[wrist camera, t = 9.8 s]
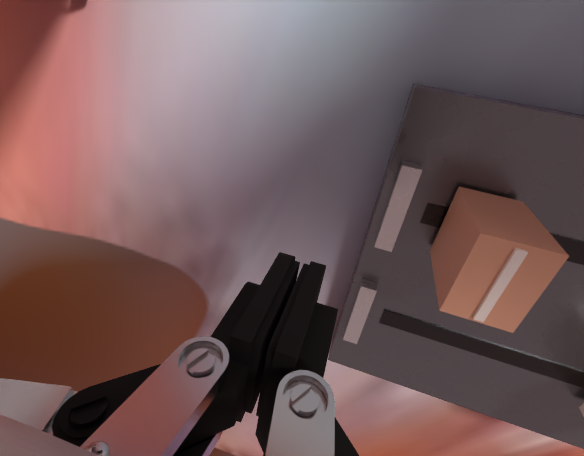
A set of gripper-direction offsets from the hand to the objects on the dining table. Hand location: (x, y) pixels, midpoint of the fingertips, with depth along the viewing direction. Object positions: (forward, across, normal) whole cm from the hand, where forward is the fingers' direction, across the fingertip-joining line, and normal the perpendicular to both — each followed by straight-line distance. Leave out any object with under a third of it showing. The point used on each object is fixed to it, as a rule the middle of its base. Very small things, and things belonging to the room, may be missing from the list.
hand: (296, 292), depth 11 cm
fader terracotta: (+8, -7, -1) cm, 11 cm away
